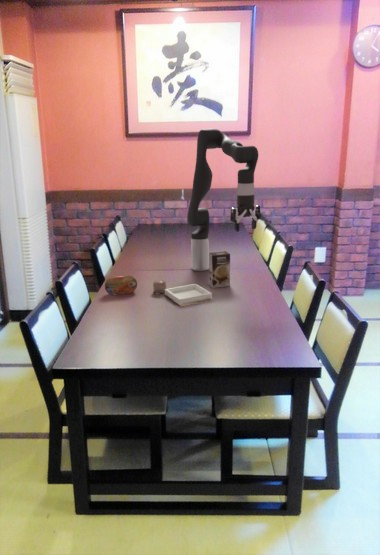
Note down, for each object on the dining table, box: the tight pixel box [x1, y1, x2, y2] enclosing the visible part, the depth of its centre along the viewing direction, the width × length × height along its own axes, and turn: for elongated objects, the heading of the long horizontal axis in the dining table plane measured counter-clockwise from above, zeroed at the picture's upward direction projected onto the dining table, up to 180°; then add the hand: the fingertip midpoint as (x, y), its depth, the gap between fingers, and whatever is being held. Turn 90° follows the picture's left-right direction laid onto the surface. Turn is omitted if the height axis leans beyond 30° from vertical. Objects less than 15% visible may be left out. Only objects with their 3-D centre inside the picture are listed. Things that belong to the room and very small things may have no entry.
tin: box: [104, 274, 138, 296], centre depth 221 cm, size 15×3×8 cm, turn 105°
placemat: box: [179, 298, 213, 307], centre depth 214 cm, size 18×15×1 cm
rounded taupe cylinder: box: [152, 279, 167, 294], centre depth 222 cm, size 6×6×5 cm
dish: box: [164, 283, 213, 306], centre depth 213 cm, size 16×16×3 cm
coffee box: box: [208, 251, 231, 289], centre depth 227 cm, size 9×6×16 cm
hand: (245, 230), depth 210 cm, fingers open, 8 cm apart
